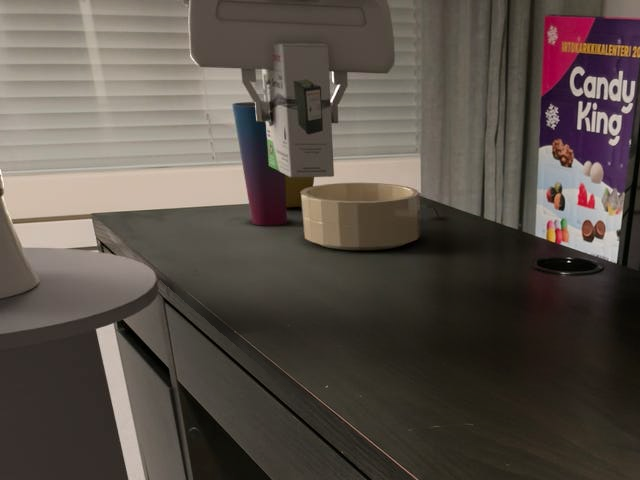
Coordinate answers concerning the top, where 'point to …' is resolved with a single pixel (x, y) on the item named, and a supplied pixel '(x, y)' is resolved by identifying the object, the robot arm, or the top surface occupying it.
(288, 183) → the flower pot
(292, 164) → the ink box
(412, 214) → the bowl
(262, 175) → the cup
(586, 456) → the top surface
